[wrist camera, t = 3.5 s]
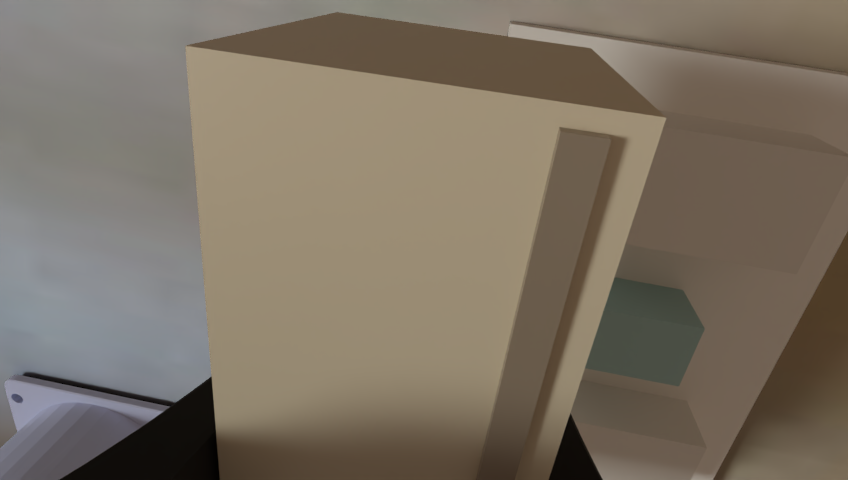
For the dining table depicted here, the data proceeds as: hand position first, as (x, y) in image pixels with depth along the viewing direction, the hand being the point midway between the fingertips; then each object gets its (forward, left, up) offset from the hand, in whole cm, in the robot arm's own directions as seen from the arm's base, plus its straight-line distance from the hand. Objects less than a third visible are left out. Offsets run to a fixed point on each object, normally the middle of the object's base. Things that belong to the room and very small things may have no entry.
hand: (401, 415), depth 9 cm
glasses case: (0, 0, -2) cm, 2 cm away
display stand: (-2, -6, -9) cm, 11 cm away
